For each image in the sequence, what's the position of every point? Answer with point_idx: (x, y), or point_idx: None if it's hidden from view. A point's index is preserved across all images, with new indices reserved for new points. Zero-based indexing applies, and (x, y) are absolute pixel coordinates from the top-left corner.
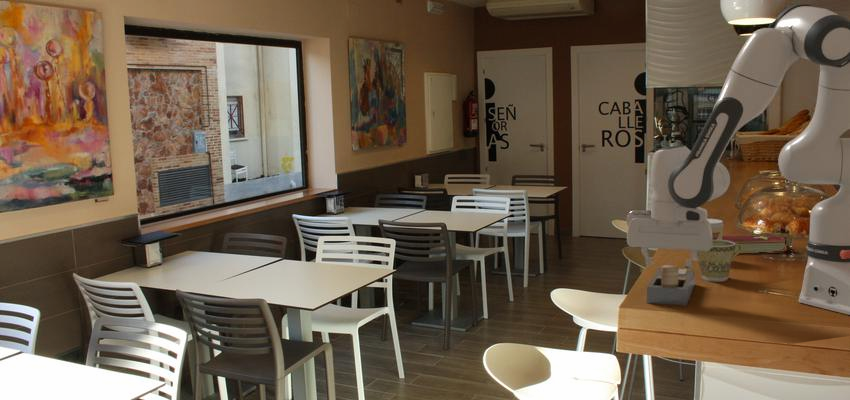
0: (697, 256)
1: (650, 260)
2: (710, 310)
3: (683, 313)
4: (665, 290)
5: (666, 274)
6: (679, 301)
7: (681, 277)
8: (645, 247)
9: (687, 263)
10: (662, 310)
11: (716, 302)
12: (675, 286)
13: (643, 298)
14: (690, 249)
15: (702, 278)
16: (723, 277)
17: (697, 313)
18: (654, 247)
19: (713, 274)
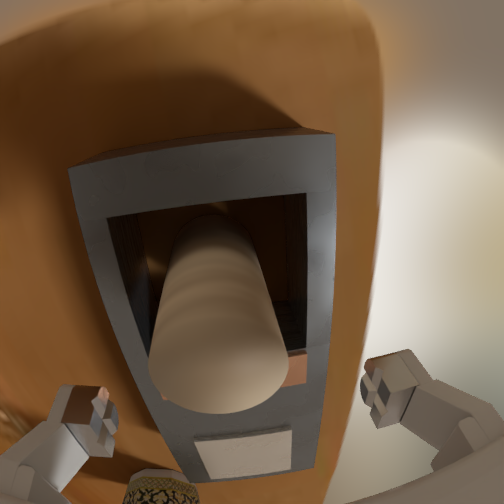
0: None
1: (393, 378)
2: (4, 138)
3: (91, 22)
4: (204, 141)
5: (229, 288)
6: (129, 148)
7: None
8: (493, 440)
9: (77, 407)
10: (195, 20)
11: (27, 274)
12: (170, 265)
13: None
14: (2, 497)
15: None
16: (134, 480)
17: (37, 59)
18: (424, 481)
19: (154, 484)
